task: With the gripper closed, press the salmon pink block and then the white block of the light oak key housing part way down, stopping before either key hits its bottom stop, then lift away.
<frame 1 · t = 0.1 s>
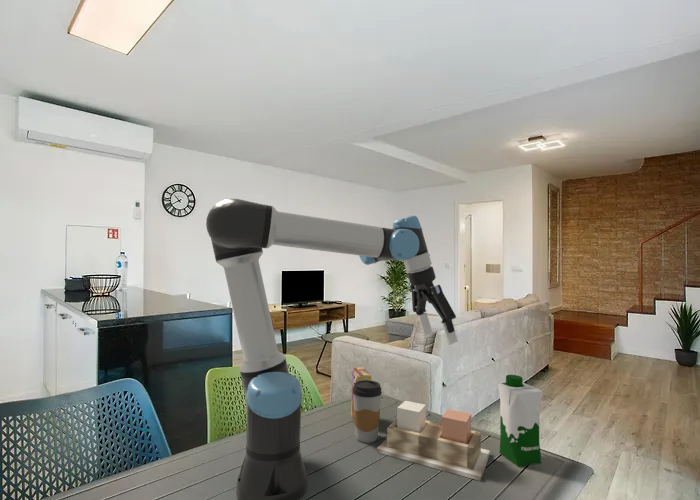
hand: (440, 338, 111), 28 cm above the table, tool tilted 20°, fingers open, 13 cm apart
milk carton: (520, 458, 97), on the table
key housing: (433, 453, 99), on the table
coffee cup: (366, 438, 107), on the table
salmon pink block: (456, 429, 96), point 7 cm above the table, slide at 0.0 cm
white block: (411, 419, 102), point 7 cm above the table, slide at 0.0 cm
candy box: (360, 420, 119), on the table
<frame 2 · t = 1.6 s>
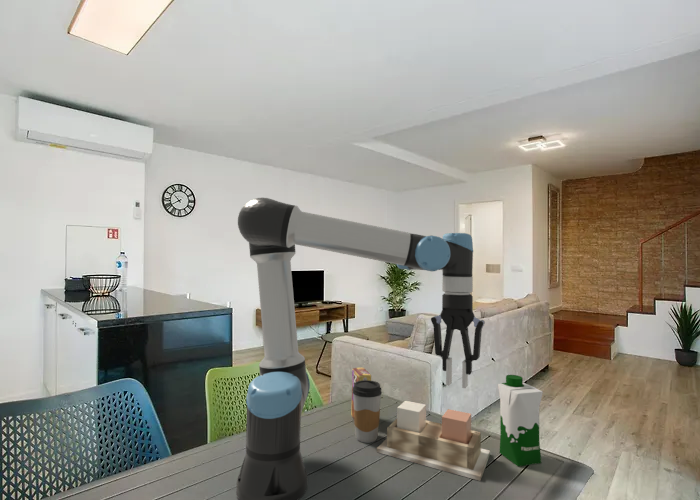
hand: (456, 385, 97), 19 cm above the table, tool pointing down, fingers open, 3 cm apart
nothing on the table moved.
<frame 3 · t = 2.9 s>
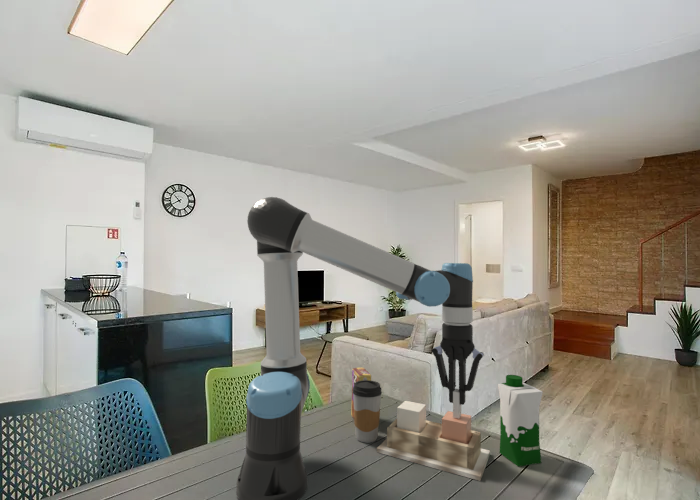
hand: (457, 416, 96), 11 cm above the table, tool pointing down, fingers closed
salmon pink block: (456, 431, 96), point 7 cm above the table, slide at 0.5 cm, touching gripper
everything else where it was.
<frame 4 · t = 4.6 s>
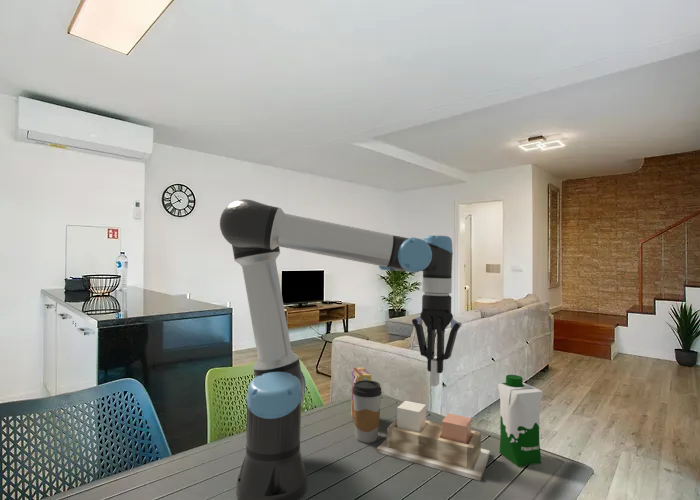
hand: (434, 384, 99), 18 cm above the table, tool pointing down, fingers closed
salmon pink block: (456, 433, 96), point 6 cm above the table, slide at 1.1 cm
everything else where it was.
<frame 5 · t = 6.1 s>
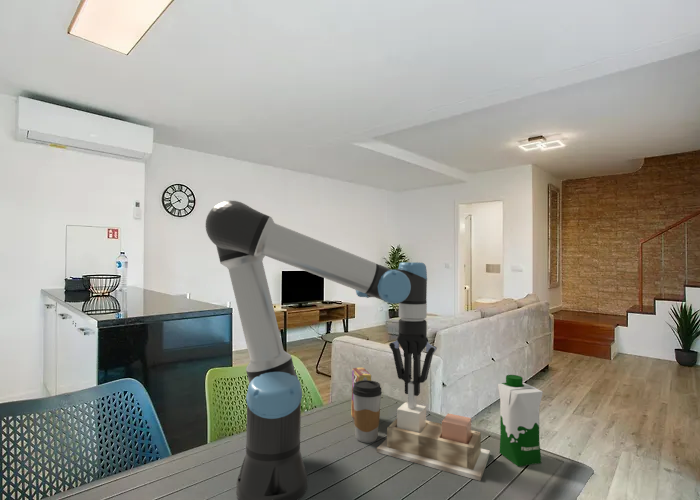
hand: (412, 406, 102), 11 cm above the table, tool pointing down, fingers closed
white block: (411, 420, 102), point 7 cm above the table, slide at 0.4 cm, touching gripper
everything else where it was.
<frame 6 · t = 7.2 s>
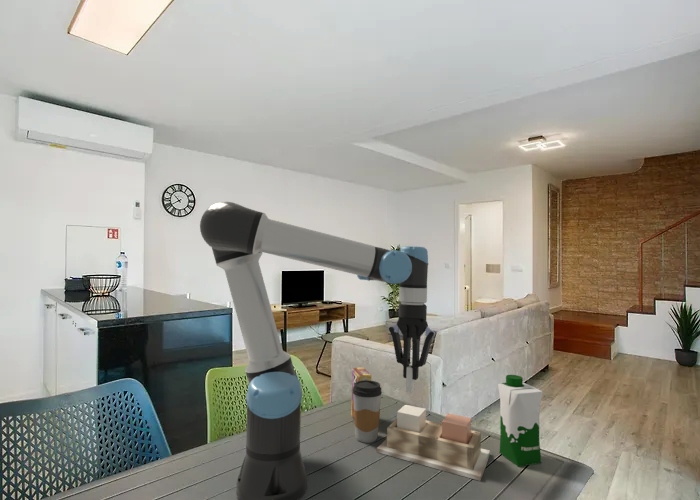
hand: (410, 390, 102), 15 cm above the table, tool pointing down, fingers closed
white block: (411, 423, 102), point 6 cm above the table, slide at 1.1 cm
everything else where it was.
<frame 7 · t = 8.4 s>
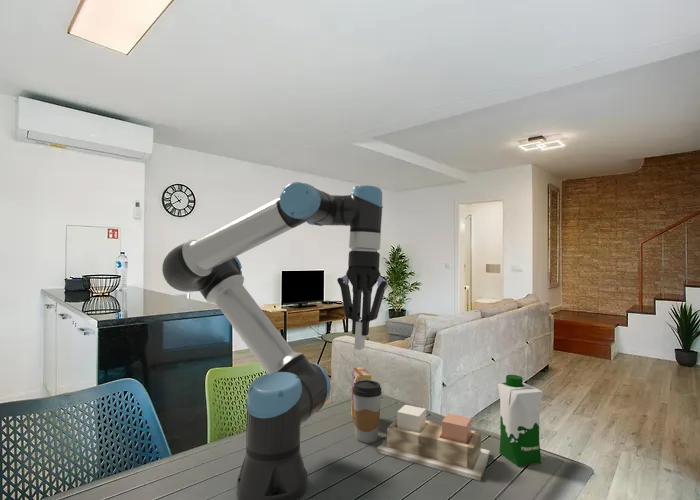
hand: (359, 348, 91), 29 cm above the table, tool pointing down, fingers closed
nothing on the table moved.
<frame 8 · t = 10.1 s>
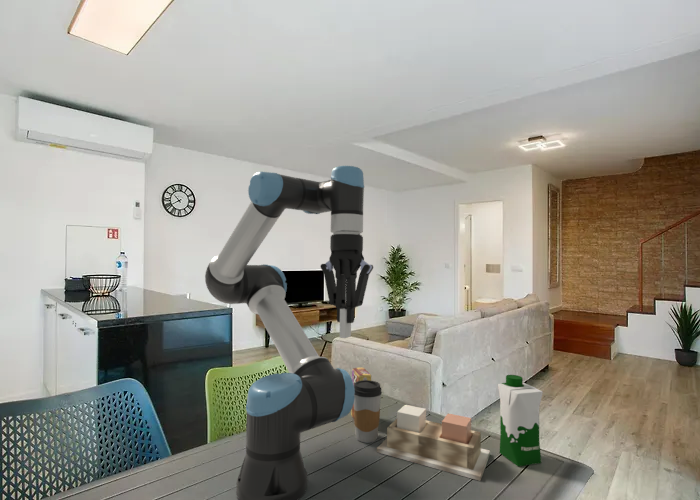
hand: (345, 336, 87), 32 cm above the table, tool pointing down, fingers closed
nothing on the table moved.
at the end: salmon pink block slide at 1.1 cm; white block slide at 1.1 cm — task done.
